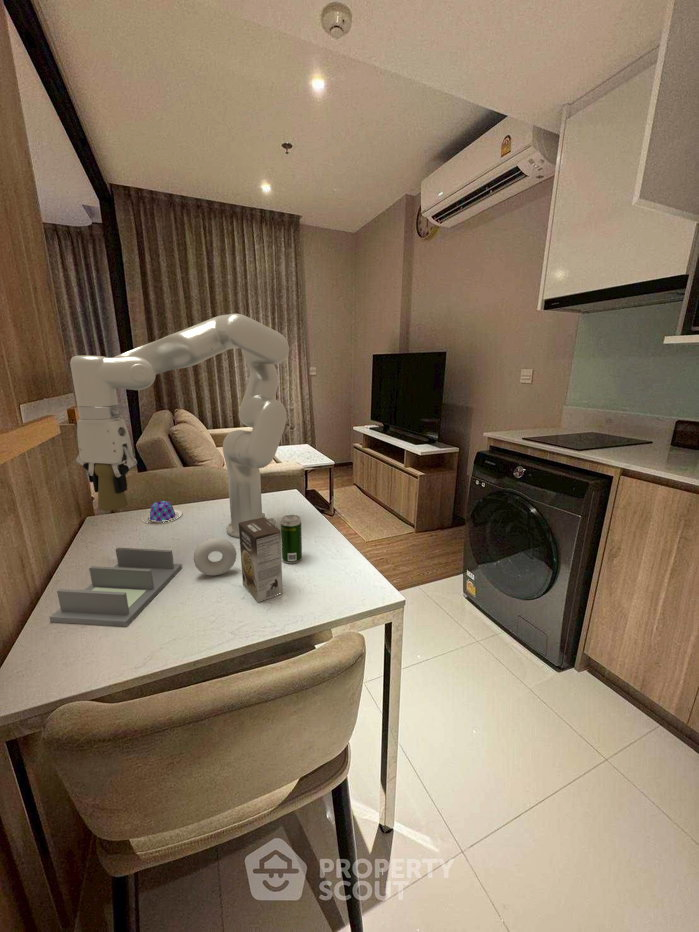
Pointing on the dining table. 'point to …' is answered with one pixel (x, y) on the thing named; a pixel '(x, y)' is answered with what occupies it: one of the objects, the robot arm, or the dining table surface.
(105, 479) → the brown gourd-shaped form
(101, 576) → the rack
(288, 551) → the beer can
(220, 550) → the donut
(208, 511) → the dining table surface
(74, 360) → the robot arm
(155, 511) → the purple patterned dome
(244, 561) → the coffee box
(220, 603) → the dining table surface
